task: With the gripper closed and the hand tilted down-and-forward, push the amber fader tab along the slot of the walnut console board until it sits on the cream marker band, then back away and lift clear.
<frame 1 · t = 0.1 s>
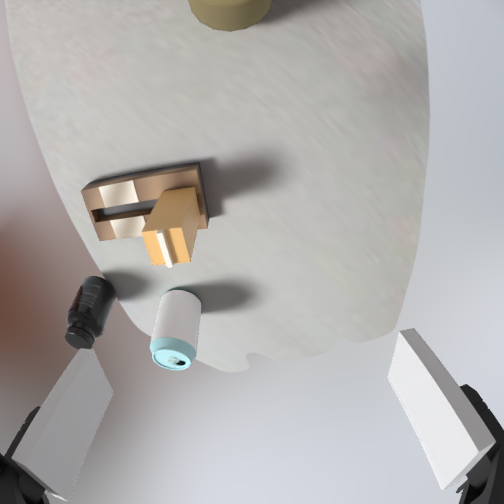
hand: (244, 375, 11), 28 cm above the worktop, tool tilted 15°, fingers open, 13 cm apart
squeeze bottle: (231, 5, 22), on the worktop
supplement bottle: (100, 288, 46), on the worktop
fader tab: (175, 220, 31), point 7 cm above the worktop, slide at 0.0 cm
console: (146, 199, 36), on the worktop
can: (181, 301, 48), on the worktop
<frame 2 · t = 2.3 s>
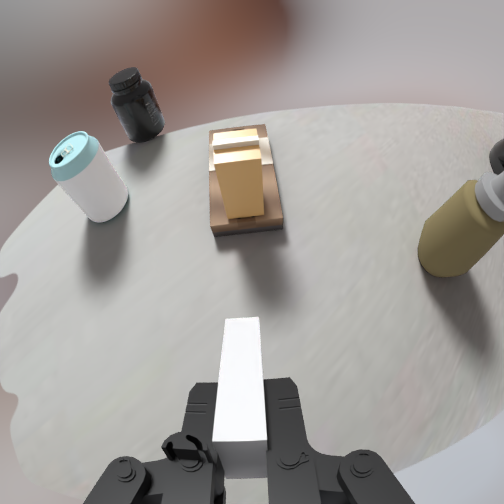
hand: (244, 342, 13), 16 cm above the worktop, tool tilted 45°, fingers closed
squeeze bottle: (434, 256, 31), on the worktop
supplement bottle: (146, 131, 43), on the worktop
fader tab: (241, 179, 29), point 7 cm above the worktop, slide at 0.0 cm
console: (242, 179, 37), on the worktop
can: (109, 204, 37), on the worktop
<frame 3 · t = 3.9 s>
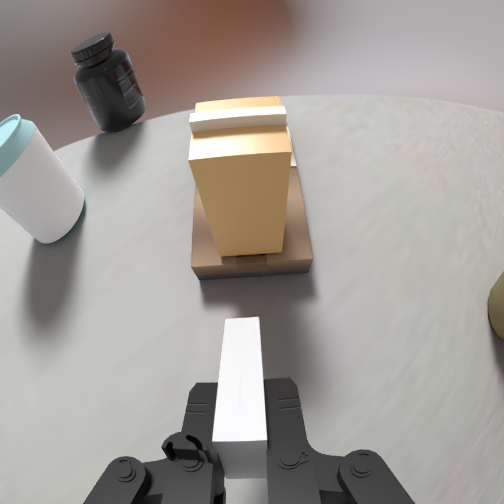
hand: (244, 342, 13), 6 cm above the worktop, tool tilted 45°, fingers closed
supplement bottle: (122, 117, 31), on the worktop
fader tab: (245, 191, 16), point 7 cm above the worktop, slide at 0.0 cm
console: (247, 188, 24), on the worktop
can: (61, 217, 25), on the worktop
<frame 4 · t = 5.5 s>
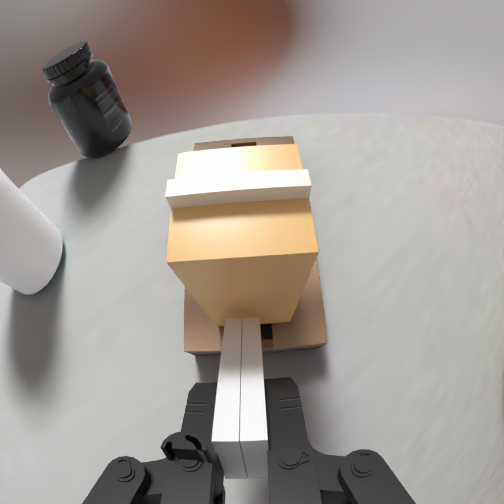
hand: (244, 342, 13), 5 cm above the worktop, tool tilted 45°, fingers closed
supplement bottle: (106, 139, 27), on the worktop
fader tab: (247, 262, 13), point 7 cm above the worktop, slide at 0.8 cm, touching gripper
console: (250, 240, 21), on the worktop
can: (40, 261, 21), on the worktop
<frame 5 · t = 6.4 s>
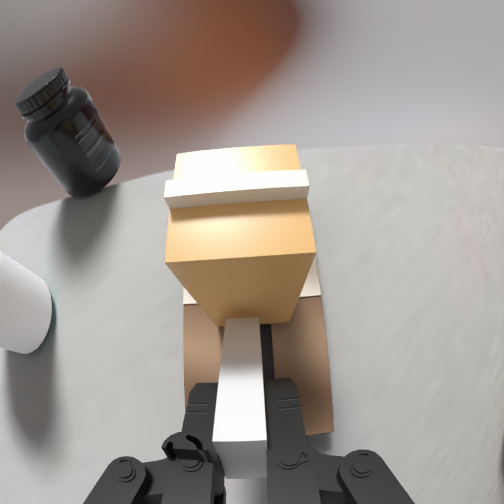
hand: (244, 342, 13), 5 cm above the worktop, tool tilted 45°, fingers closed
supplement bottle: (93, 174, 25), on the worktop
fader tab: (246, 262, 13), point 7 cm above the worktop, slide at 6.1 cm, touching gripper
console: (253, 311, 19), on the worktop
can: (31, 316, 19), on the worktop
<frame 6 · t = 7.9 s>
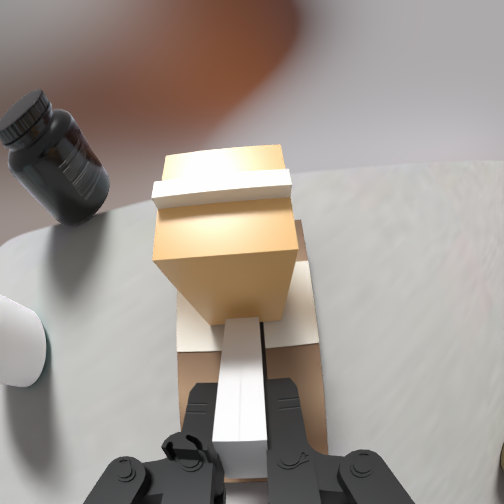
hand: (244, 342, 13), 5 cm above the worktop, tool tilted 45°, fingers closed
supplement bottle: (83, 199, 24), on the worktop
fader tab: (236, 261, 13), point 7 cm above the worktop, slide at 9.0 cm
console: (249, 353, 18), on the worktop
can: (26, 348, 18), on the worktop
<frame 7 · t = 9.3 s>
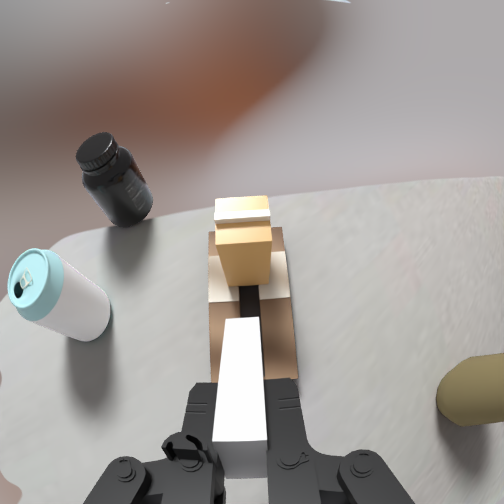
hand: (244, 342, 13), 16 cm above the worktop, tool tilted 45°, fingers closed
squeeze bottle: (452, 393, 24), on the worktop
supplement bottle: (131, 208, 37), on the worktop
fader tab: (245, 248, 26), point 7 cm above the worktop, slide at 9.0 cm
console: (250, 306, 30), on the worktop
can: (89, 314, 30), on the worktop
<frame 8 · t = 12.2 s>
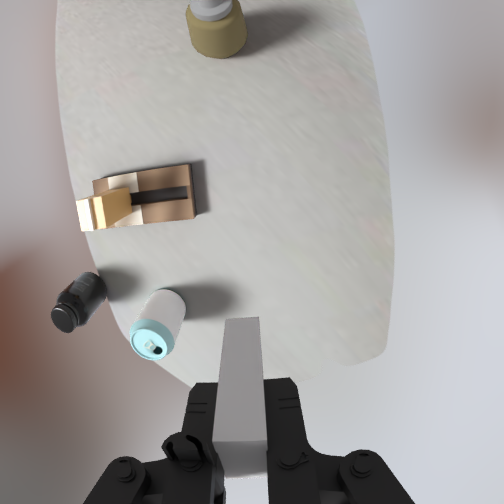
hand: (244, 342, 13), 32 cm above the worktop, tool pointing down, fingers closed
squeeze bottle: (221, 43, 35), on the worktop
supplement bottle: (93, 287, 48), on the worktop
fader tab: (107, 206, 36), point 7 cm above the worktop, slide at 9.0 cm
console: (145, 195, 43), on the worktop
can: (167, 304, 49), on the worktop
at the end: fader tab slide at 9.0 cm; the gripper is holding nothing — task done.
